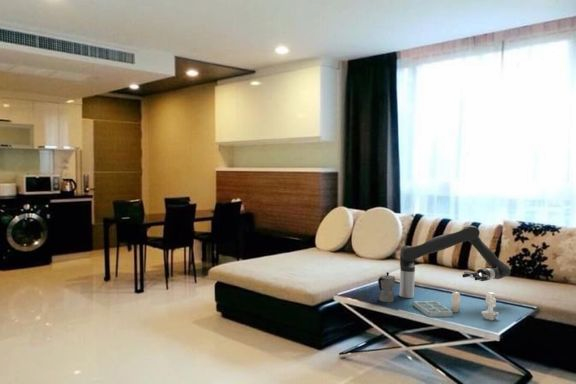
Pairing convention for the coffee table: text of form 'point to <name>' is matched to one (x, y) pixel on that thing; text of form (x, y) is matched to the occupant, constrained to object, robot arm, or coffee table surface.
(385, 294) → the coffeepot
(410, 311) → the coffee table surface
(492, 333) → the coffee table surface
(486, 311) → the figurine
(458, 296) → the white tall cylinder
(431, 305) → the muffin tray
